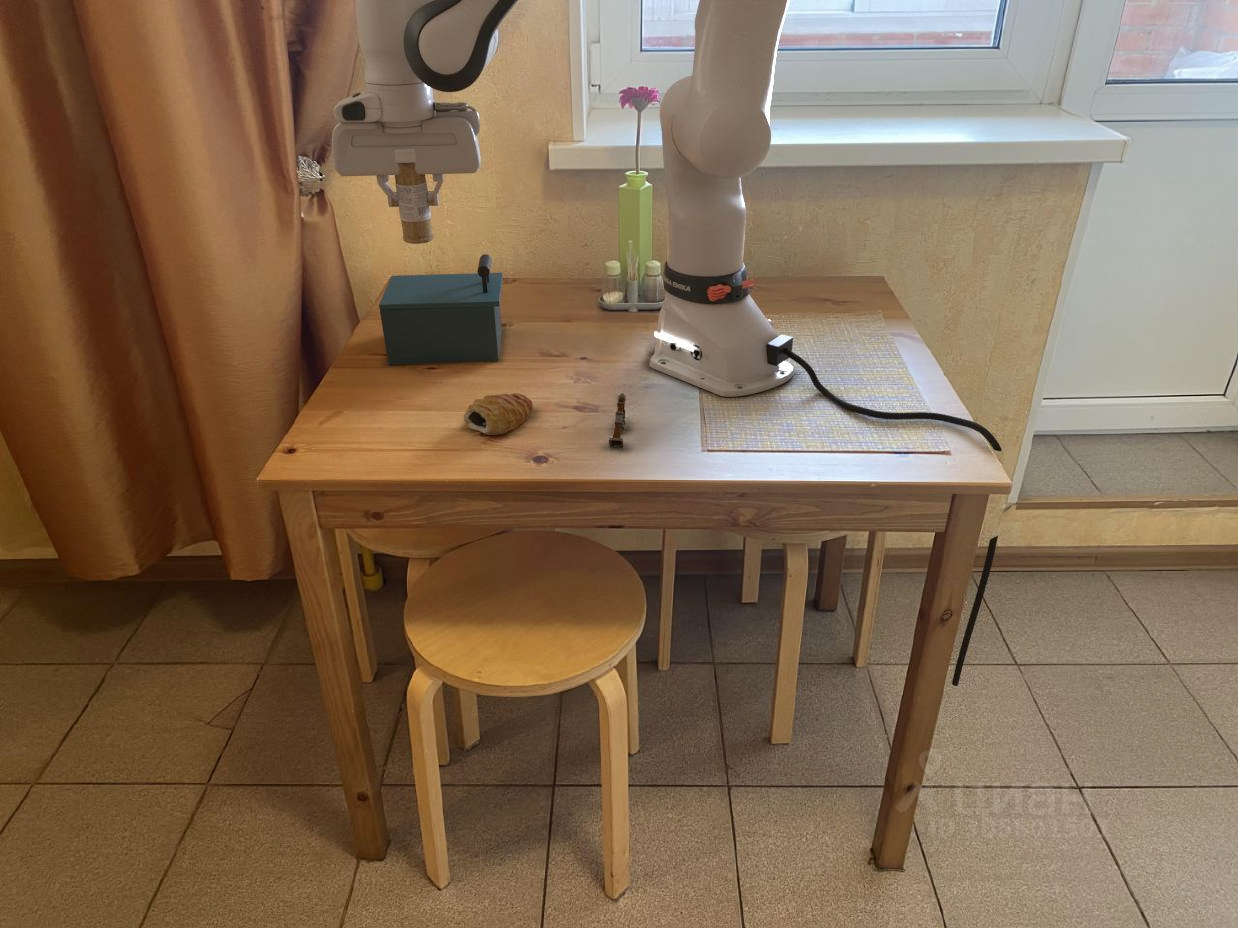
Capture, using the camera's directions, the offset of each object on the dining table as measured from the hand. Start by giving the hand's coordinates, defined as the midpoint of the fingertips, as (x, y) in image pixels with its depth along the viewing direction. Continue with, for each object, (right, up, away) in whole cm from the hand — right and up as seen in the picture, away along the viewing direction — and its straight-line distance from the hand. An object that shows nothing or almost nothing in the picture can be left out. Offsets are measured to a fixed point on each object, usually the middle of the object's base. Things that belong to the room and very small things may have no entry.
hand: (414, 205), depth 127 cm
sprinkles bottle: (0, -5, +3) cm, 5 cm away
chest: (+3, -19, +12) cm, 22 cm away
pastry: (+13, -32, -10) cm, 36 cm away
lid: (+3, -11, +7) cm, 14 cm away
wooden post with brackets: (+29, -34, -13) cm, 47 cm away
